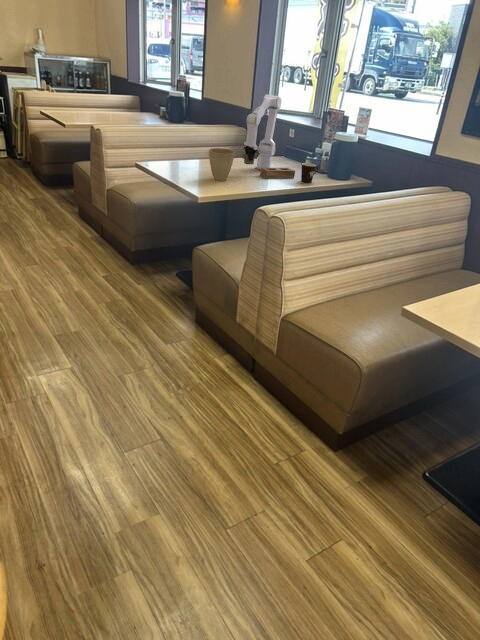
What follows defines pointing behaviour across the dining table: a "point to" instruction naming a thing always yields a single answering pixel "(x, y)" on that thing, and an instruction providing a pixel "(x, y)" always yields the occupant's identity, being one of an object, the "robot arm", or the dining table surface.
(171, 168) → the dining table surface
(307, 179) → the coffee mug
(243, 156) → the grey rectangular block
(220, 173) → the plant pot
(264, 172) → the wooden slotted block
